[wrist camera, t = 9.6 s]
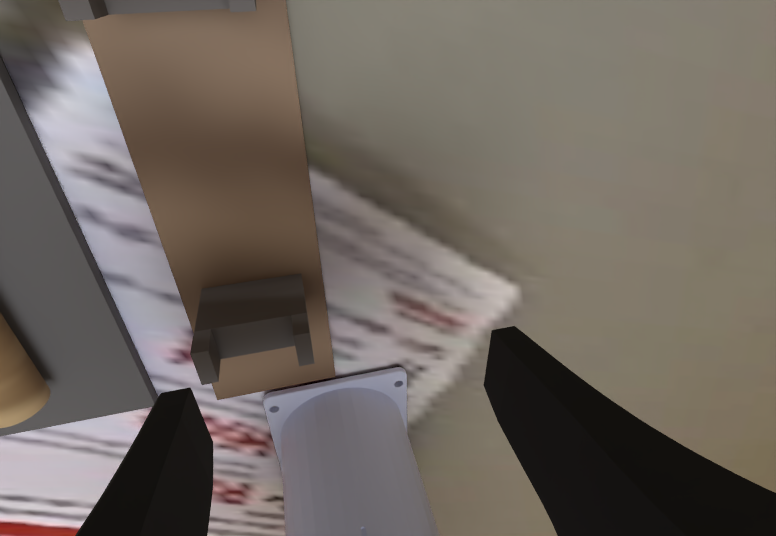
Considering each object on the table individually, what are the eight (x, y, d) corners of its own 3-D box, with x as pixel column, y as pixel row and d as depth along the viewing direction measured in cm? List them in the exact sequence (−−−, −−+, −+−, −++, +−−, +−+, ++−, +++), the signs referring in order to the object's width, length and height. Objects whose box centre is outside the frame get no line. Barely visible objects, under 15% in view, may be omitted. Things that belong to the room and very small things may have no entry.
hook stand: (333, 363, 25) (347, 440, 21) (218, 385, 24) (211, 471, 20) (241, -317, 11) (232, -470, 7) (-30, -337, 10) (-211, -528, 6)
